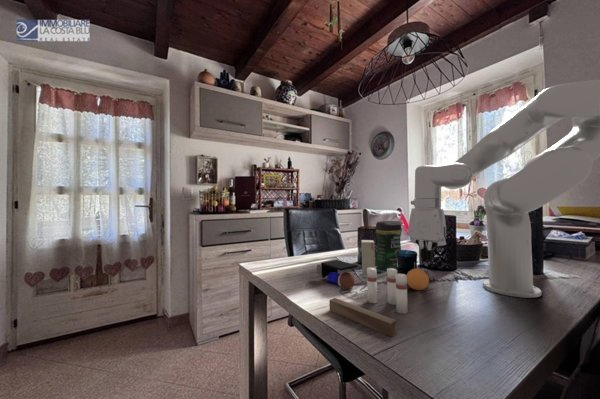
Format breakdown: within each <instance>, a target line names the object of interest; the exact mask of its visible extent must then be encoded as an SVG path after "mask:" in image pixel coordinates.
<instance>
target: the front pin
mask: <svg viewBox="0 0 600 399" xmlns="http://www.w3.org/2000/svg"><path fill="white" fill-rule="evenodd" d="M396 274H398V269H393V268H388V269H387V270H386V283H387V285H386V286H387V288H386V289H387V303H388V305H393V306H394V305H395V306H396Z"/></svg>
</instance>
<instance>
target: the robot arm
mask: <svg viewBox="0 0 600 399" xmlns="http://www.w3.org/2000/svg"><path fill="white" fill-rule="evenodd" d="M570 118H571V123H572V126H571V127H572V128H571V131H570V132H569V133H568V134H567V135H565V136H564V137H563V138H561V139H560V140H559V141H557V142H556V143H555V144H553V145H552V146H550V147H549V148H547V149H545V150H544V151H542V152H541V153H539V154H537V155H535V156H533V157H532V158H530V159H529V160H528V161H527V162H526V164H524V166H523V168H522V169H521V170H519V171H517V172H516V173H515V174H513V175H511V176H510V177H507V178H506V177H505V178H503V179H499V180H496V181H494V182H493V183H491V184H490V185H489V186H488V187H487V188H486V190H485V192H484V196H483V201H484V202H483V203H484V204H483V205H484V209H485V210H484V211H485V216H486V225H487V226H486V228H487V230H486V231H487V256H488V257H487V259H488V279H486V280H485V279H484V280H483V281H482V287H483V288H484V289H486V290H488V291H490V292H493V293H496V294H500V295H503V296H508V297H509V296H510V297H514V298H515V297H516V298H525V299H533V298H539V297H541V296H542V290H541V289H540V288H539V287H537V286H535V285H534V277H533V276H534V273H533V254H532V252H533V251H532V226H531V224H532V223H531V219H530V215H529V213H530V212H532V211H535V210H537V209H539V208H541V207H543V206H545V205H546V204H548V203H550V202H552V201H553V200H555V199H557V198H558V197H560V196H561V195H564V194H565V193H567V192H569V191H570V190H571V189H573V188H575V187H576V186H579V185H580V184H582V183H583V182H584V181H585V180H586V179H587V178H588V177H589V176H590V175H591V172H592V171H593V166H594V163H593V162H594V161H596V160H598V159H599V158H600V79H593V80H584V81H574V82H569V83H568V82H567V83H561V84H557V85H553V86H550V87H549V86H548V87H547V88H545V89H543V90H542V91H541V92H539V93H538V94H537V95H536V96H534V97H533V98H532V99H531V100H529V101H528V102H526V104H524V105H523V106H522V107H521V108H519V109H518V110H517V111H515V112H514V113H513V114H512V115H510V116H509V117H508V118H506V119H505V120H504V121H502V122H501V123H500V124H498V125H497V126H496V127H494V128H493V129H492V130H490V131H489V132H488V133H487V134H486V135H485V136H484V137H482V138H481V139H480V140H479V141H478V142H477V143H476V144H475V145H474V146H472V147H471V149H469V150H468V151H466V152H465V154H463V155H462V156H461V157H459V158H458V159H457V160H455V161H454V162H453V163H448V164H441V165H440V164H439V165H433V164H432V165H431V164H429V165H427V164H426V165H421V166H417V167H416V168H415V170H414V198H413V200H410V205H413V208H411V211H410V215H409V219H408V231H407V232H408V236H409V241H410V242H413V243H415V244H417V246H418V247H419V249H420V258H421V262H422V263H427V264H429V263H431V262H432V261H433V259H434V258H433V256H434V250H435V248H437V247H441V246H446V245H447V242H446V238H447V225H446V224H447V223H446V216H445V211H444V209H443V208H442V188H443V187H444V188H446V189H447V190H448V189H449V190H458V189H460V188H461V189H462V188H463V187H466V186H467V185H469V184H470V182H472V180H473V178H474V177H476V176H477V175H479V174H481V173H482V172H484V171H485V170H487V169H488V168H489V167H491V166H493V165H495V164H496V163H499V162H500V161H502V160H504V159H506V158H508V157H509V156H510V155H513V154H514V153H515V152H517V151H518V150H519V149H521V148H522V147H524V146H525V145H526V144H528V143H529V142H530V141H532V140H533V139H534V138H536V137H537V136H539V135H540V134H541V133H544V132H545V131H546V130H547V129H549V128H550V127H551V126H553V125H555V124H556V123H558V122H559V121H561V120H563V119H570ZM427 241H428V242H427Z"/></svg>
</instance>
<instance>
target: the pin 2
mask: <svg viewBox="0 0 600 399" xmlns="http://www.w3.org/2000/svg"><path fill="white" fill-rule="evenodd" d="M407 284H408V283H407V274H405V273H397V274H396V305H395V306H396V312H397V313H399V314H403V315H405V314H408V313H409V312H408V311H409V310H408V309H409V308H408V306H409V305H408V285H407Z"/></svg>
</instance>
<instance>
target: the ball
mask: <svg viewBox="0 0 600 399" xmlns="http://www.w3.org/2000/svg"><path fill="white" fill-rule="evenodd" d="M406 275H407V284H408V285H407V286H409V287H410V288H411V289H412V290H416V291H422V290H425V289H426V288H427V287H428V285H429V283H430V279H429V276H428V275H427V272H425V271H424V270H423V269H419V268H412V269H410V270H409V271H408V272H407V274H406Z"/></svg>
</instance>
